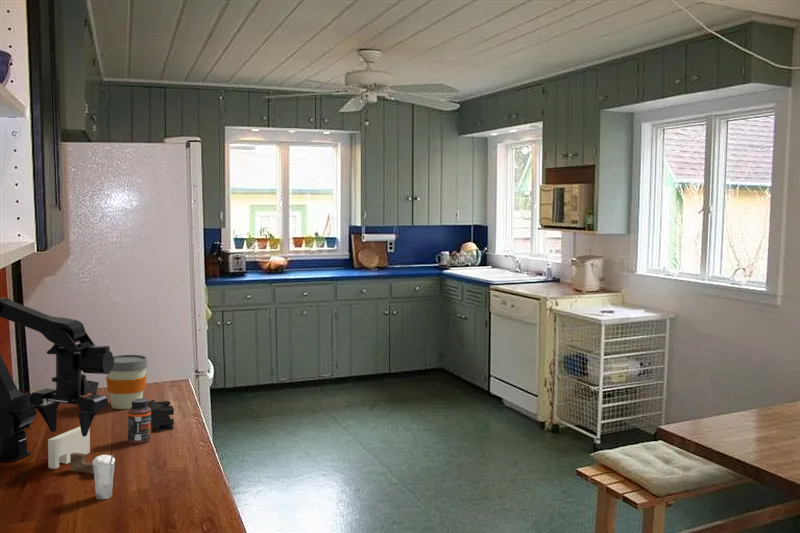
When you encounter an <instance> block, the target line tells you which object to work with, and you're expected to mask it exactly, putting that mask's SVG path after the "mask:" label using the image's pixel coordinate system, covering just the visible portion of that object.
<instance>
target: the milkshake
mask: <svg viewBox="0 0 800 533" xmlns="http://www.w3.org/2000/svg"><path fill="white" fill-rule="evenodd" d="M97 456H98V457H96V456H95V457H96V458H95V459H94V458H93V460H92V462H91V463H93V472H94V474H93V477H94V479H93V480H94V487H95V488H94V489H95V499H96V500H101V501H102V500H108V499H110V498H112V496H113V487H114V486H113V485H114V484H113V482H114V473H115V464H116V458H115V457H114V454H112V455H110V454H101V455H97Z"/></svg>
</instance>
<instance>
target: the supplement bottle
mask: <svg viewBox="0 0 800 533" xmlns="http://www.w3.org/2000/svg"><path fill="white" fill-rule="evenodd" d="M147 404H148V399H147V398H143V397H142V398H140V399H134V400H132V407H131V408H130V409H127V442H128V443H130V444H133V445H134V444H135V445H140V444H145V443H148V442H150V441H151V439H152V427H151V409H150V407H148V405H147Z"/></svg>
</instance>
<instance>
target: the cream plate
mask: <svg viewBox="0 0 800 533" xmlns="http://www.w3.org/2000/svg"><path fill="white" fill-rule="evenodd" d="M90 430H91V427H90V428H89V431H88V433H87V435H86V436H84V437H83V436H82V433H81V428H80V426H78V427H76V428H72V429H69V431H66V432H63V433H60V434H58V435H56V436H54V437H53V436H52V437H51V438H49V439H48V440H47V453H48V456H47V457H48V458H47V460H48V462H47V464H48V466H47V467H48V469H53V470H56V469H58V468H60V463H61V464H69V463H70V454H72V453H81V454H85V456H86V455H88V454H90V453H91V431H90Z"/></svg>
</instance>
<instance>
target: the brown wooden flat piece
mask: <svg viewBox="0 0 800 533" xmlns="http://www.w3.org/2000/svg"><path fill="white" fill-rule="evenodd" d="M98 456H99V455H95V456H94V458H93V460H94V459H95V458H96V457H98ZM69 463H70V467H69V468H70V471H72V472H80V473H87V474H92V475H94V472H93V463H92V462H86V455H85V454H81V453H72V454H70V462H69Z"/></svg>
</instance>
